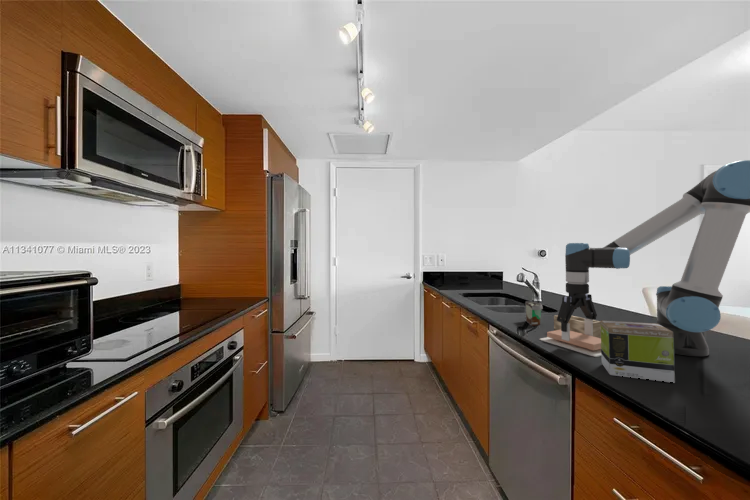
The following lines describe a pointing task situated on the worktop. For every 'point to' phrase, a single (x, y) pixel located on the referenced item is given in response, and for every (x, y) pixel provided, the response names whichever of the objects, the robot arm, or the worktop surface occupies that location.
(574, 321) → the birch box
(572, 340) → the peach flat tile
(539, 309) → the food container
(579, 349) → the grey mat
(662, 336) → the tea box
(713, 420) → the worktop surface
